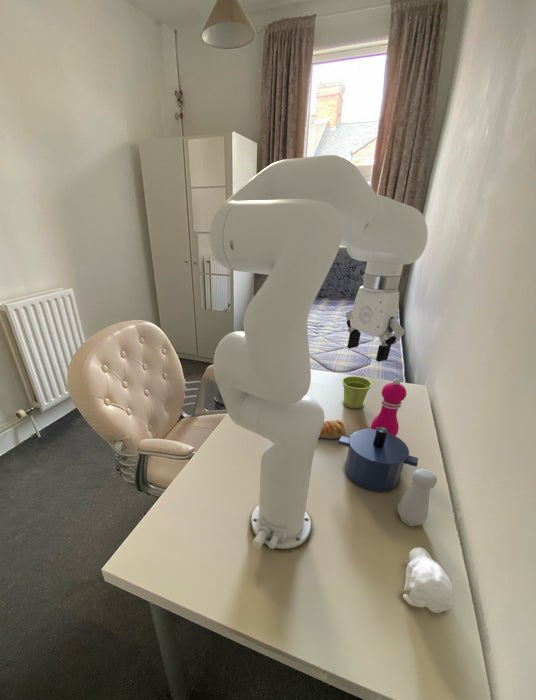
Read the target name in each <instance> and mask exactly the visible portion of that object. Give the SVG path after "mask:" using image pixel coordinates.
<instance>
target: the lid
mask: <svg viewBox="0 0 536 700" xmlns="http://www.w3.org/2000/svg"><path fill="white" fill-rule="evenodd" d="M387 432H388V430H387V429H386V428H384V427H378V428H377V430H375V429H371V428H365V429H359V430H356V431H354V432H353V433H351V435H350V436H349V437H348V438H349V445H350V448H351V449H352V450H353V452H354V453H356V454H357V455H358V456H360V457H361V458H363V459H365V460H367V461H370V462H372V463H376V464H381V465H396V464H400V463H402V462H404V461H405V460H406V459H407V458H408V455H410V450H409V447H408V445H407V444H406V443H405V441H404V440H403V439H401V438H400V437H398V436H397V435H396V436H394V435H392V434H390V433H387Z"/></svg>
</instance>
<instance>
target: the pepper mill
mask: <svg viewBox="0 0 536 700" xmlns="http://www.w3.org/2000/svg"><path fill="white" fill-rule="evenodd" d="M381 396H382V398H381V401H380V404H381V409H380V411H379V413H378V414H377V415H376V416H375V417H374V419H373V420H372V422H371V424H370V429H375V430H377V428H378V427H384V428H386V429H387V430H388V432H387V433H390V434H392V435H394V436H396V437H397V435H398V434H399V429H400V427H399V421H398V415H397V414H398V410H399V409H400V408H401V407H402V403H403V401H404V400H405V399H406V397H407V390H406V388H405V386H404V385H403V384H401V380H400V379H399V378H394V379H393V380H392V382H388V383H387V384H385V385H384V386H383V387H382V389H381Z"/></svg>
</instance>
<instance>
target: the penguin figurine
mask: <svg viewBox="0 0 536 700" xmlns="http://www.w3.org/2000/svg"><path fill="white" fill-rule="evenodd" d="M405 562H406V568H405V582H404V583H405V584H404V589H403V590H404V591H405V592H407V591H409V590H410V591H409V594H408V593H403V594H402V598H403V600H404V601H405V602H406V603H407V604H409V605H410V606H411V607H417V608H425V607H426V608H427V610H429V611H430V612H432V613H434V614H440V613H442V612H446V611H448V610H449V609H450V608H452V607H453V606H454V604H455V598H454V589H453V585H452V582H451V579H450V578H449V576H448V575H447V573H446V572H445V571H444V569H443V568H442V566H441V565H440V563H438V562H437V561H435V560H434V559H433V558H432V556H431V554H430V553H429V552H428V551H427V550H426V549H425V548H423V547H419V546H418V547H414V548H412V549H411V550H410V551H409V554H408V558H407V559H406V560H405Z"/></svg>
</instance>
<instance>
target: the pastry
mask: <svg viewBox="0 0 536 700" xmlns="http://www.w3.org/2000/svg"><path fill="white" fill-rule="evenodd" d="M346 430H347V429H346V427H345V424H344V422H343V421H342V420H339V419H336V420H324V424H323V427H322V430H321V433H320V436H319V439H328V440H330V439H333V440H334V439H335V440H336V439H340V438H341V436H343V437H346V435H347V431H346Z"/></svg>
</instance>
